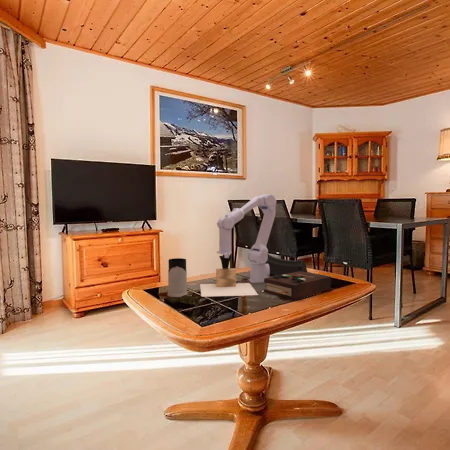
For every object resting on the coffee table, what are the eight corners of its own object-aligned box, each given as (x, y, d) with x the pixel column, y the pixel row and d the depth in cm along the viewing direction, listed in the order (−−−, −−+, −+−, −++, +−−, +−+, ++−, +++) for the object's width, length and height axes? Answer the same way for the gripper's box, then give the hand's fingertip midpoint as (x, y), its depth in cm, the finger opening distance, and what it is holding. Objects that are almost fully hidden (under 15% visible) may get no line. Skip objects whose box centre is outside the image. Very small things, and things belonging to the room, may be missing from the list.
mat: (249, 283, 161) (249, 283, 161) (258, 295, 139) (258, 295, 139) (200, 285, 159) (200, 284, 159) (201, 297, 137) (201, 296, 137)
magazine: (313, 263, 167) (269, 241, 187) (309, 264, 164) (265, 242, 185) (304, 293, 171) (262, 269, 192) (300, 294, 169) (258, 270, 190)
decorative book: (336, 274, 148) (293, 284, 129) (336, 291, 149) (293, 303, 130) (301, 268, 163) (258, 276, 144) (301, 283, 163) (258, 293, 144)
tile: (235, 285, 157) (235, 268, 157) (235, 286, 154) (235, 269, 154) (216, 285, 156) (216, 268, 156) (216, 287, 153) (216, 269, 153)
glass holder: (166, 297, 137) (166, 261, 137) (169, 288, 152) (168, 256, 151) (187, 296, 138) (187, 261, 137) (188, 288, 152) (188, 256, 152)
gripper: (215, 240, 164) (215, 268, 165) (218, 244, 149) (218, 274, 150) (229, 240, 164) (229, 267, 165) (233, 244, 150) (233, 273, 151)
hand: (225, 270), depth 158 cm, fingers closed
